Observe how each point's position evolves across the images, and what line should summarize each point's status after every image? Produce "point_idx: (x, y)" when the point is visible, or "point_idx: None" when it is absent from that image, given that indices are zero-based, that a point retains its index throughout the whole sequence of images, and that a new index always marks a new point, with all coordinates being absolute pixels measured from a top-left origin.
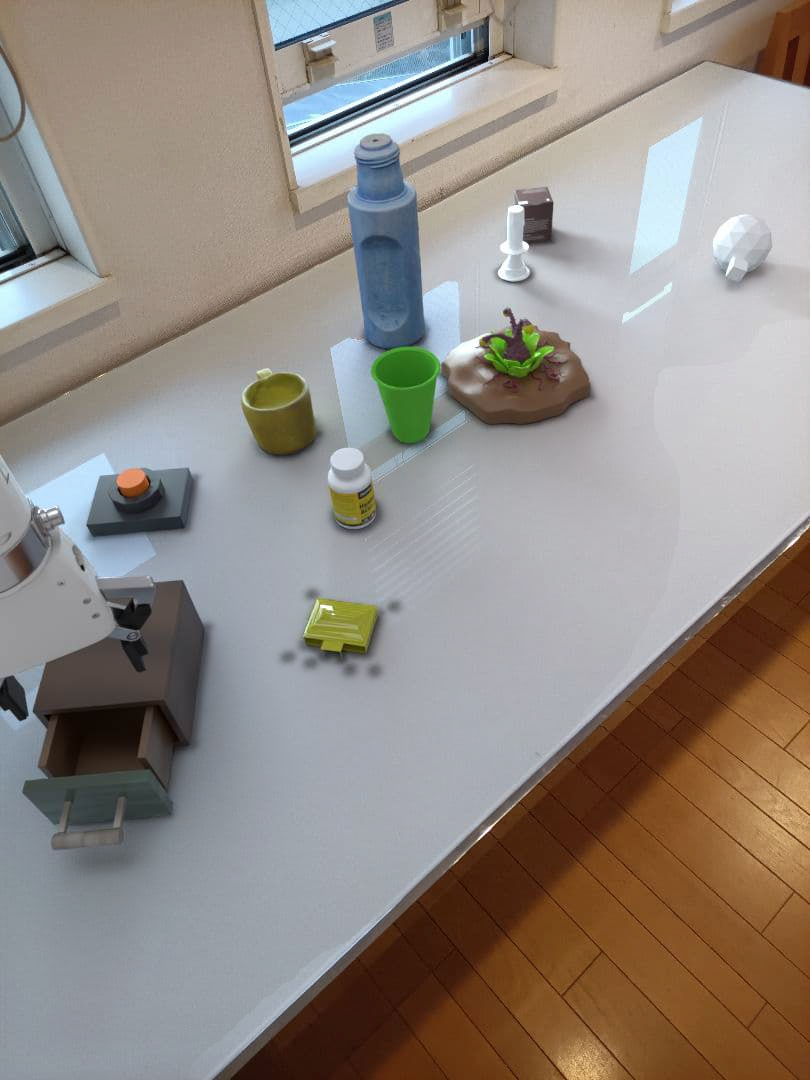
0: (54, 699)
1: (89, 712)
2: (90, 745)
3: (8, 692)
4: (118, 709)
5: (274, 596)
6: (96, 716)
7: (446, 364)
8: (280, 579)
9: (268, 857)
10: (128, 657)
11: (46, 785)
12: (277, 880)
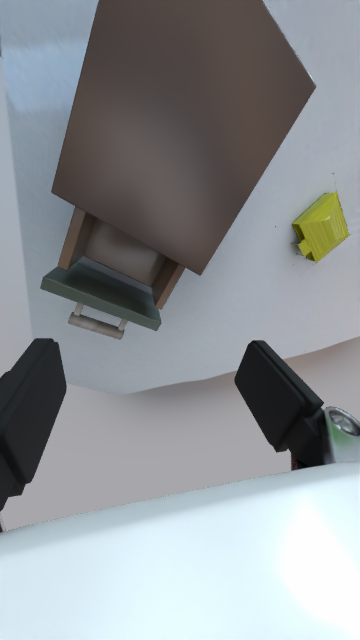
0: (85, 192)
1: None
2: None
3: (29, 482)
4: None
5: (314, 145)
6: None
7: None
8: (334, 125)
9: (187, 342)
10: (255, 419)
11: (68, 294)
12: (186, 352)
